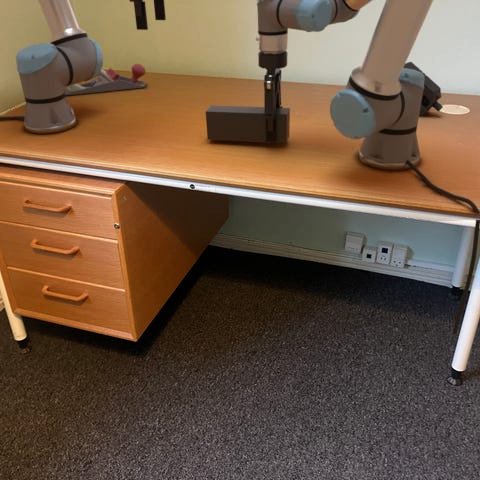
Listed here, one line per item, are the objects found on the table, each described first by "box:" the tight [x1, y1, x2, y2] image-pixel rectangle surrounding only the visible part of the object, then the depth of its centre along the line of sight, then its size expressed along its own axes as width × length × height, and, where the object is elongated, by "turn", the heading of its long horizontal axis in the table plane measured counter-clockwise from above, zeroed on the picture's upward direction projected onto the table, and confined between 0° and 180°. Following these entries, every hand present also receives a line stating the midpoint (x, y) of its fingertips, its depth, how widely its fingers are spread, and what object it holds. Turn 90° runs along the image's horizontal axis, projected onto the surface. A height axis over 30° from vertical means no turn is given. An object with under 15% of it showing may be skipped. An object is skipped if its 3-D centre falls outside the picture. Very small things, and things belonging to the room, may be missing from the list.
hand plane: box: [64, 63, 146, 96], centre depth 194 cm, size 7×31×15 cm, turn 107°
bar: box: [205, 105, 291, 144], centre depth 148 cm, size 22×6×8 cm, turn 77°
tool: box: [403, 61, 444, 116], centre depth 168 cm, size 6×19×15 cm, turn 51°
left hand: (151, 24), depth 140 cm, fingers open, 13 cm apart
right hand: (273, 137), depth 148 cm, fingers closed on bar, 6 cm apart
